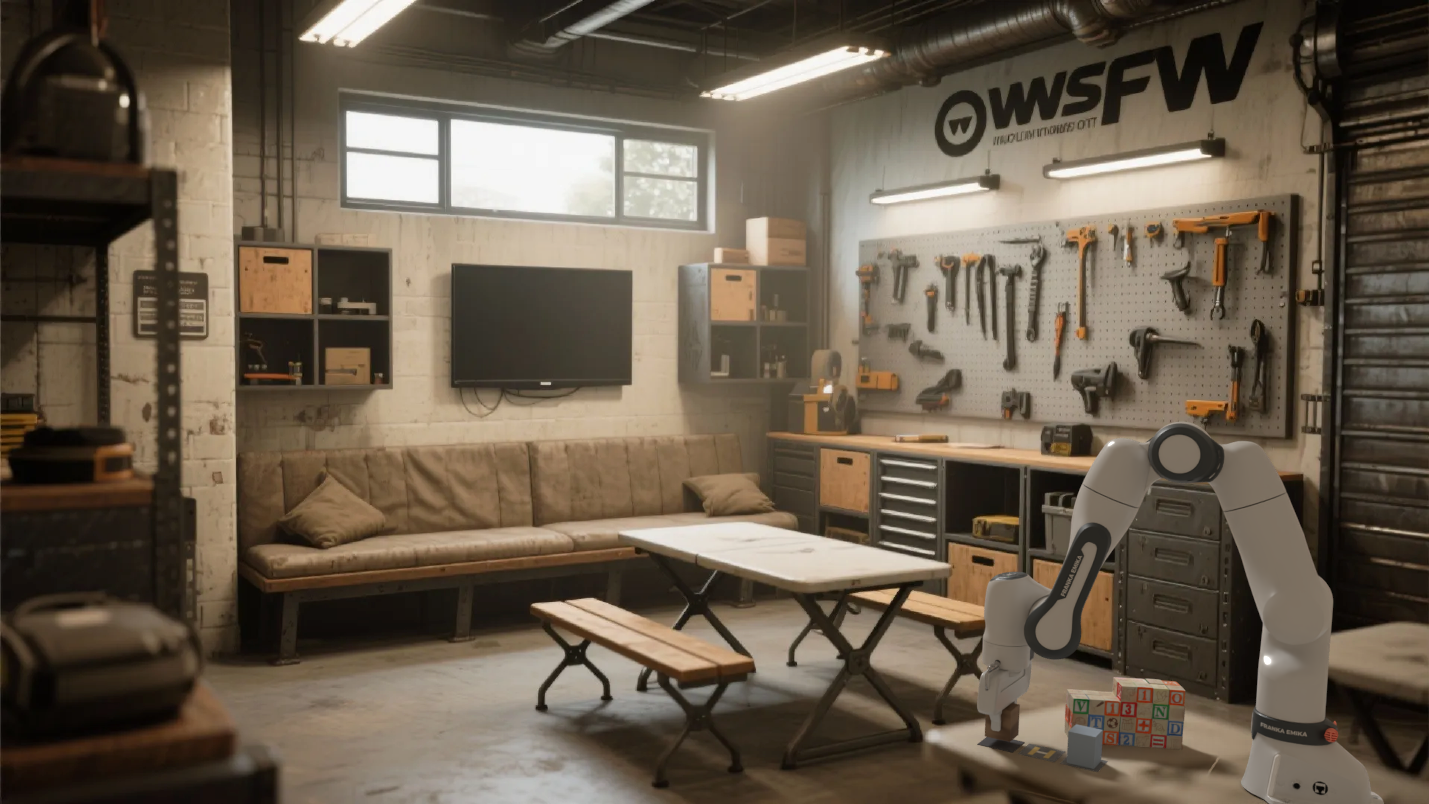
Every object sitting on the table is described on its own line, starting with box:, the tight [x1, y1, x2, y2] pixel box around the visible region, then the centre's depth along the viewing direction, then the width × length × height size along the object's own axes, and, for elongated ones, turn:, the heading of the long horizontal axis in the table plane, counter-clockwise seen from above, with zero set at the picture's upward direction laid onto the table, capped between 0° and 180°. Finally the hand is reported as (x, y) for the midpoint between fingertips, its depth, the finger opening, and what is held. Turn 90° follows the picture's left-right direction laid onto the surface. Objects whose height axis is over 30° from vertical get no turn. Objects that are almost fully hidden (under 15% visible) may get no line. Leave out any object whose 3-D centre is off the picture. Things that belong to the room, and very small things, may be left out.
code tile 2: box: [1059, 756, 1108, 773], centre depth 220 cm, size 7×7×1 cm
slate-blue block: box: [1066, 724, 1103, 769], centre depth 220 cm, size 5×5×6 cm
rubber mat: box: [976, 737, 1025, 754], centre depth 229 cm, size 7×7×1 cm
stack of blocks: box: [1064, 676, 1186, 750], centre depth 232 cm, size 21×6×12 cm, turn 85°
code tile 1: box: [1017, 743, 1066, 763], centre depth 224 cm, size 7×7×1 cm
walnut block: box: [984, 703, 1021, 742], centre depth 228 cm, size 5×5×6 cm
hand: (1002, 725), depth 228 cm, fingers closed on walnut block, 5 cm apart
